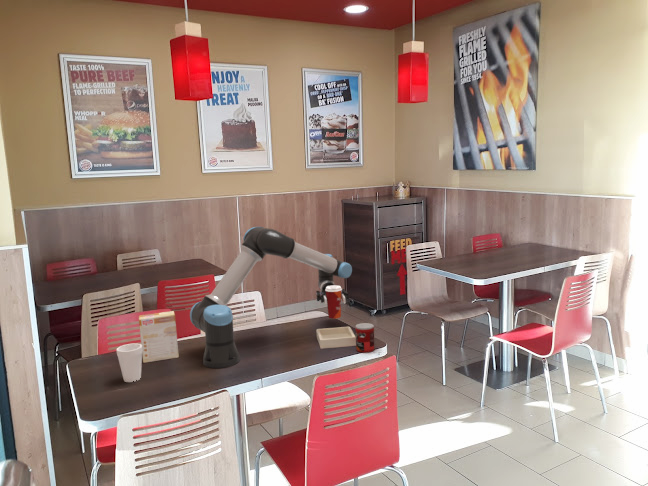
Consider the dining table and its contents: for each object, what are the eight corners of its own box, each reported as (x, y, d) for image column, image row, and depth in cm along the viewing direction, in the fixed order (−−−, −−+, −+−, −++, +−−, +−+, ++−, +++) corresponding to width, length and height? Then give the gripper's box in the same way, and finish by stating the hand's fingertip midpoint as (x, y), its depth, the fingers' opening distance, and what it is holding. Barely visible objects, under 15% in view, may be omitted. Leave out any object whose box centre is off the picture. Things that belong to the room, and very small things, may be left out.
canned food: (353, 348, 233) (352, 324, 231) (370, 345, 235) (369, 322, 234) (359, 354, 226) (359, 329, 224) (377, 351, 228) (376, 326, 226)
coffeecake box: (177, 352, 237) (174, 310, 234) (179, 357, 230) (175, 314, 227) (142, 357, 232) (138, 314, 229) (143, 363, 225) (138, 319, 222)
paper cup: (343, 318, 237) (342, 288, 235) (326, 319, 237) (324, 289, 235) (343, 313, 245) (341, 284, 242) (326, 314, 245) (325, 285, 243)
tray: (320, 348, 234) (320, 340, 233) (316, 337, 250) (316, 329, 249) (356, 345, 236) (355, 337, 235) (350, 334, 252) (349, 326, 251)
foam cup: (136, 372, 215) (133, 341, 213) (149, 377, 209) (146, 346, 207) (115, 380, 208) (111, 348, 206) (127, 385, 202) (124, 353, 200)
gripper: (349, 295, 259) (358, 307, 237) (308, 298, 257) (312, 311, 234) (349, 280, 258) (357, 291, 235) (307, 283, 256) (312, 294, 233)
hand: (335, 301), depth 235 cm, fingers closed on paper cup, 8 cm apart
